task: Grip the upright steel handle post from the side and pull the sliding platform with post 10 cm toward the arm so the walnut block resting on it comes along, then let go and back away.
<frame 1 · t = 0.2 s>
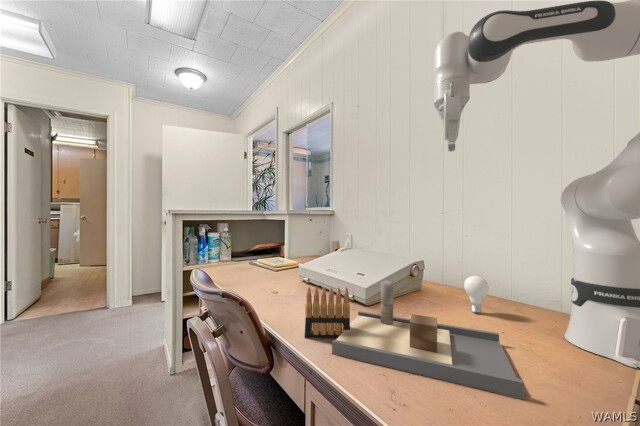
hand: (452, 146, 72), 48 cm above the table, fingers open, 8 cm apart
sliding platform with post: (395, 314, 59), point 7 cm above the table, slide at 0.1 cm, touching walnut block
walnut block: (423, 344, 55), point 2 cm above the table, touching sliding platform with post
lightbulb: (476, 313, 79), on the table
ammunition clip: (327, 339, 62), on the table, touching rail base
rail base: (418, 348, 57), on the table
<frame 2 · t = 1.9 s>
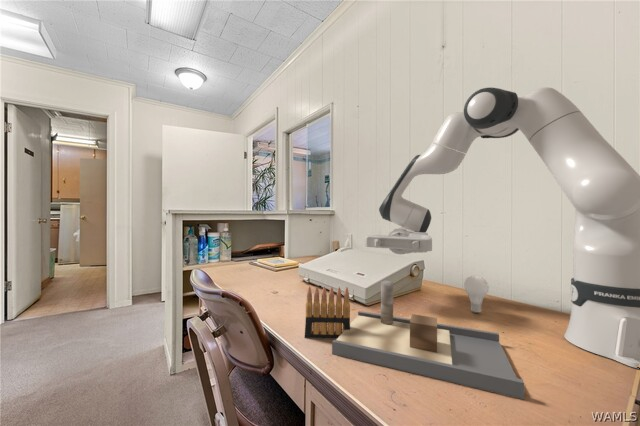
hand: (394, 244, 77), 20 cm above the table, fingers open, 8 cm apart
nothing on the table moved.
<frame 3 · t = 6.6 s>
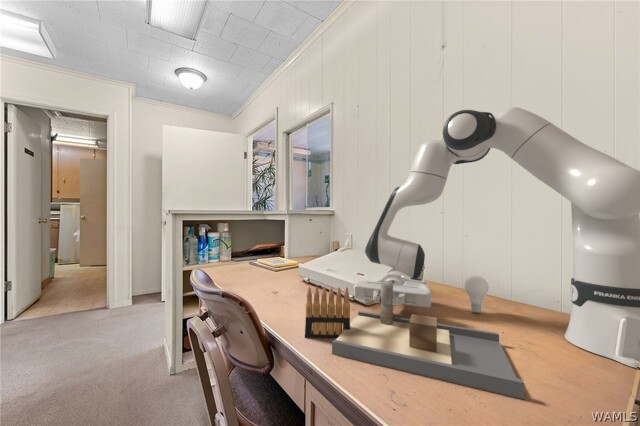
hand: (386, 301, 65), 8 cm above the table, fingers closed on sliding platform with post, 3 cm apart
sliding platform with post: (395, 314, 59), point 7 cm above the table, slide at 0.0 cm, touching gripper, walnut block
everything else where it was.
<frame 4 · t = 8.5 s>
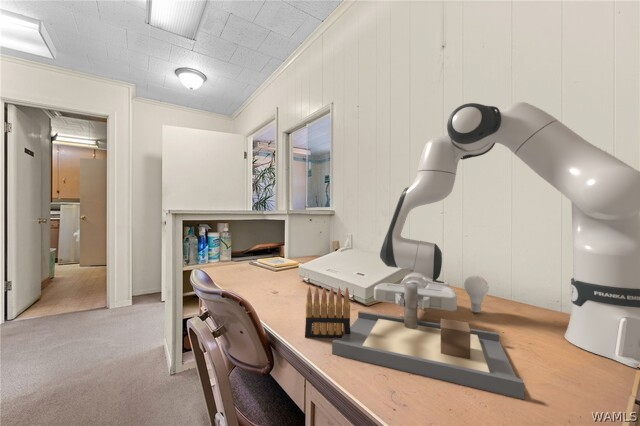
hand: (410, 304, 63), 7 cm above the table, fingers closed on sliding platform with post, 3 cm apart
sliding platform with post: (422, 318, 57), point 7 cm above the table, slide at 5.8 cm, touching gripper, walnut block
walnut block: (454, 350, 52), point 2 cm above the table, touching sliding platform with post
everything else where it was.
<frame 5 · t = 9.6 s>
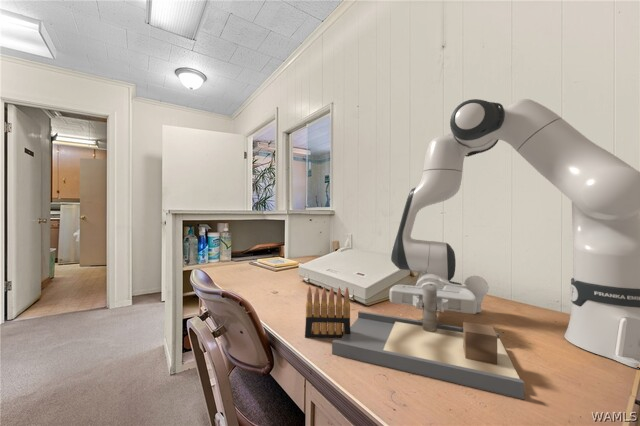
hand: (429, 307, 61), 7 cm above the table, fingers closed on sliding platform with post, 3 cm apart
sliding platform with post: (444, 321, 55), point 7 cm above the table, slide at 9.9 cm, touching gripper, walnut block
walnut block: (479, 355, 50), point 2 cm above the table, touching sliding platform with post
everything else where it was.
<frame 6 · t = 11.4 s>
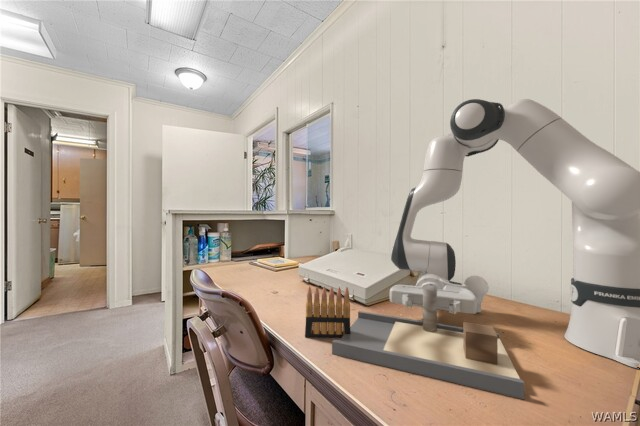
hand: (429, 307, 61), 7 cm above the table, fingers open, 8 cm apart
sliding platform with post: (444, 321, 55), point 7 cm above the table, slide at 9.9 cm, touching walnut block
everything else where it was.
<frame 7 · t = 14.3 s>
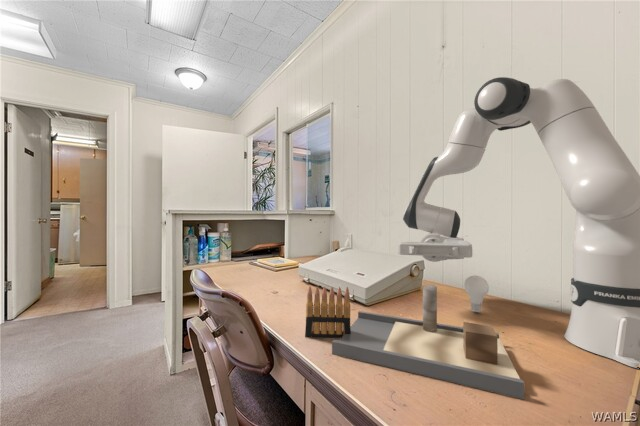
hand: (432, 251, 73), 19 cm above the table, fingers open, 8 cm apart
nothing on the table moved.
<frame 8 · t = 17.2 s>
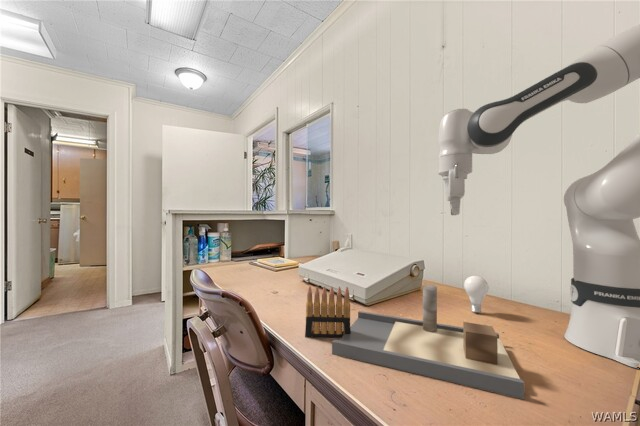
hand: (454, 215, 77), 29 cm above the table, fingers open, 8 cm apart
nothing on the table moved.
at the end: sliding platform with post slide at 9.9 cm; walnut block inside the target area (0.6 cm from its centre), point 2.0 cm above the table; walnut block tilted 0° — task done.
